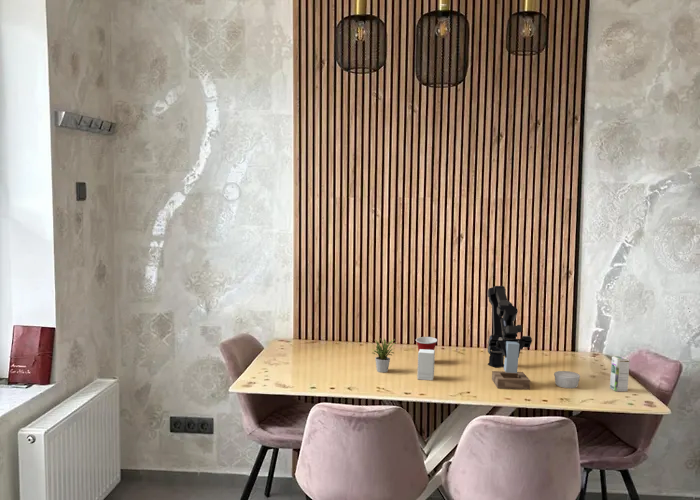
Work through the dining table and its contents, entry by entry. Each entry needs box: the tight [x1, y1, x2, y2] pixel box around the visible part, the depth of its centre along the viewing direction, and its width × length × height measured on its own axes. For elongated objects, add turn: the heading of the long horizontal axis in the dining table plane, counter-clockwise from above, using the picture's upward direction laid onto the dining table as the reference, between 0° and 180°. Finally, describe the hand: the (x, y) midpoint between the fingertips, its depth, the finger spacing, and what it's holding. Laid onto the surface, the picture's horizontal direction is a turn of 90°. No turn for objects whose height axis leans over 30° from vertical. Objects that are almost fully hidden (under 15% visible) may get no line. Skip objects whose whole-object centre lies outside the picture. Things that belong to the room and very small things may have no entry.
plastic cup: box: [415, 336, 438, 352], centre depth 338 cm, size 11×11×12 cm
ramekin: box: [553, 370, 581, 389], centre depth 303 cm, size 11×11×5 cm
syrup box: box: [609, 355, 630, 392], centre depth 297 cm, size 6×6×14 cm
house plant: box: [371, 337, 397, 373], centre depth 320 cm, size 14×14×16 cm
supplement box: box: [416, 349, 436, 381], centre depth 310 cm, size 7×7×13 cm
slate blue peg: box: [503, 341, 520, 373], centre depth 302 cm, size 5×5×13 cm
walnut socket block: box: [491, 370, 531, 390], centre depth 303 cm, size 14×14×4 cm
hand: (512, 357), depth 300 cm, fingers closed on slate blue peg, 5 cm apart
